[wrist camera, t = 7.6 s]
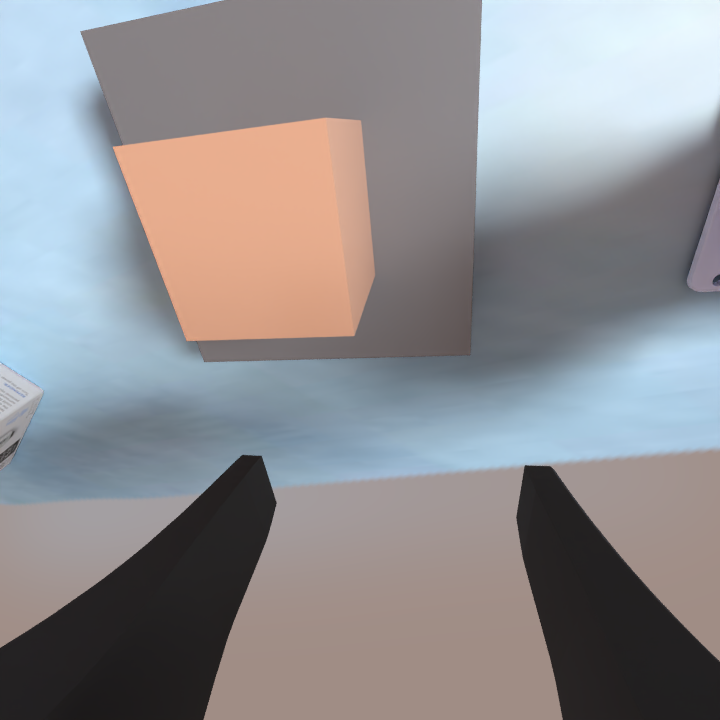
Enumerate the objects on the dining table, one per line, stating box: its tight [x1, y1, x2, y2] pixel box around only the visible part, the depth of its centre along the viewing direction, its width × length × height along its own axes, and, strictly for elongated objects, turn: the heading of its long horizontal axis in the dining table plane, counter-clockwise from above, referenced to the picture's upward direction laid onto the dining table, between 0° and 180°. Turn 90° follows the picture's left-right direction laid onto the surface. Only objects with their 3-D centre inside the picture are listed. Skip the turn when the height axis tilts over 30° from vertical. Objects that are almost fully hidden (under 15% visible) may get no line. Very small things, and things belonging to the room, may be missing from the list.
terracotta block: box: [113, 118, 375, 341], centre depth 12 cm, size 5×5×5 cm
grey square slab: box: [81, 0, 482, 362], centre depth 15 cm, size 12×12×4 cm
